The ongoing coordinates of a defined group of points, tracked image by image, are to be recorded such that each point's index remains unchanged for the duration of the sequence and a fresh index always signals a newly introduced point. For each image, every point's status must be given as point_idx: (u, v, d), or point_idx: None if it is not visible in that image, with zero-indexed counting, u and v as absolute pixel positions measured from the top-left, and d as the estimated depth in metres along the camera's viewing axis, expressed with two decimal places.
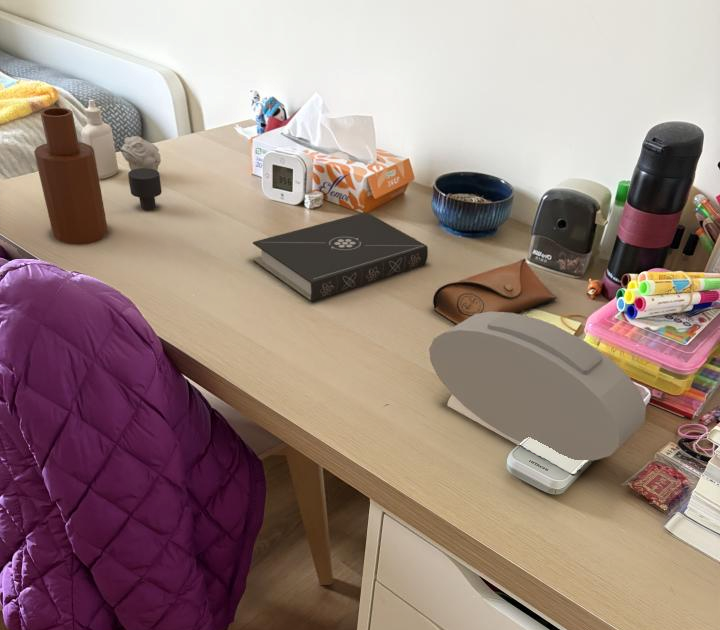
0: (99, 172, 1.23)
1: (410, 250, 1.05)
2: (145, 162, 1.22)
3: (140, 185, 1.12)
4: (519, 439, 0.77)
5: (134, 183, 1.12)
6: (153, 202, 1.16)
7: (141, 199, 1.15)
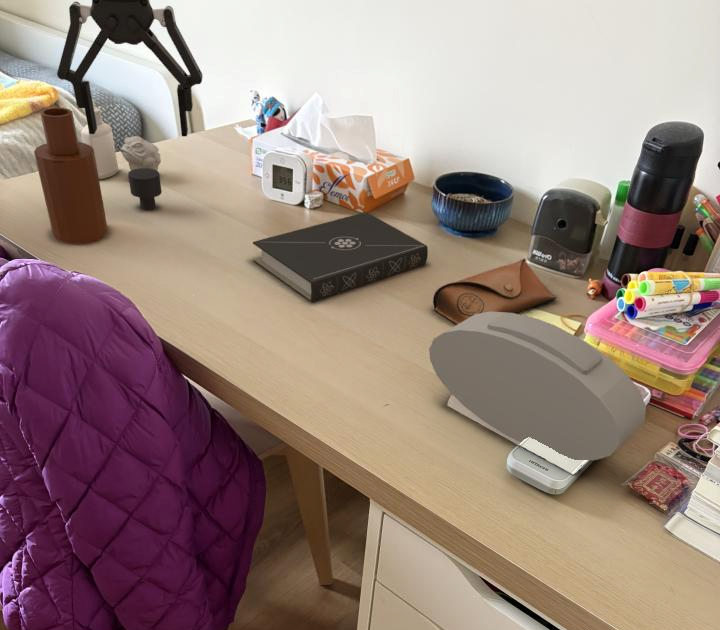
0: (99, 172, 1.23)
1: (410, 250, 1.05)
2: (145, 162, 1.22)
3: (140, 185, 1.12)
4: (519, 439, 0.77)
5: (134, 183, 1.12)
6: (153, 202, 1.16)
7: (141, 199, 1.15)
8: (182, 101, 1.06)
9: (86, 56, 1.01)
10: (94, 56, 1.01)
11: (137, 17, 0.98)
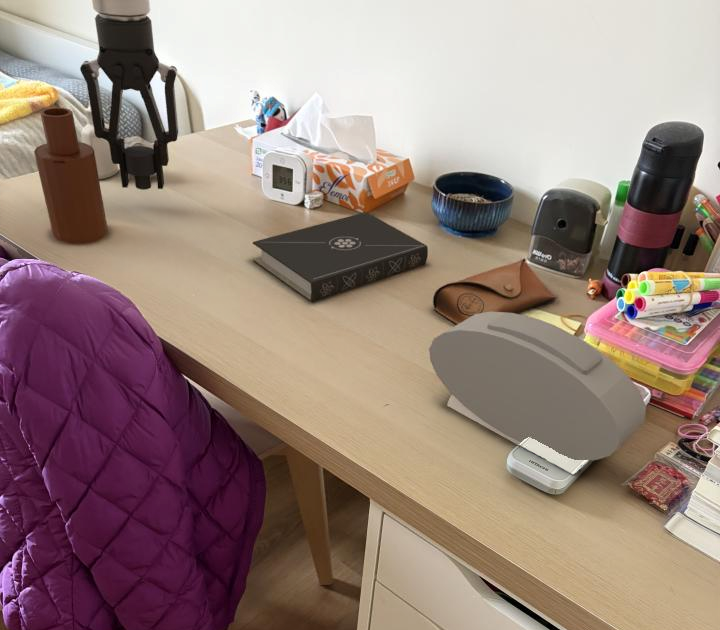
0: (99, 172, 1.23)
1: (410, 250, 1.05)
2: None
3: (136, 163, 1.10)
4: (519, 439, 0.77)
5: (130, 161, 1.10)
6: (148, 181, 1.14)
7: (136, 177, 1.13)
8: (158, 157, 1.11)
9: (111, 112, 1.06)
10: (117, 109, 1.06)
11: (142, 65, 1.02)
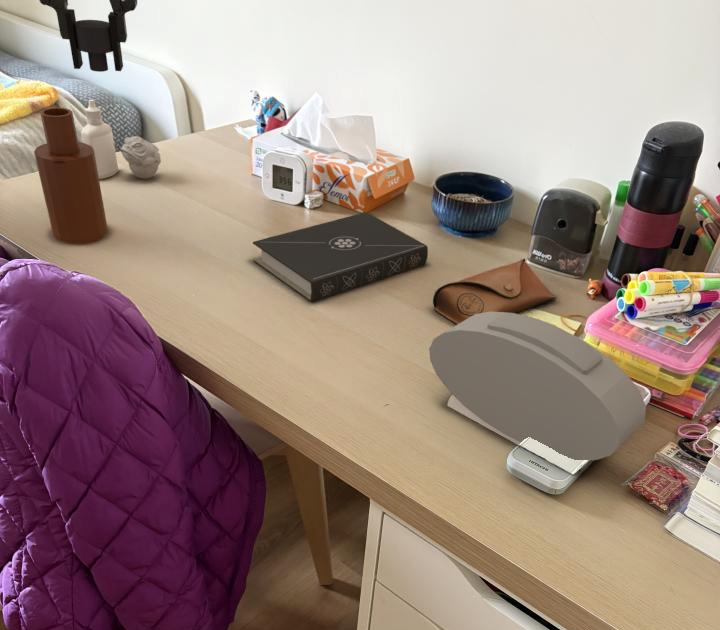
0: (99, 172, 1.23)
1: (410, 250, 1.05)
2: (145, 162, 1.22)
3: (88, 36, 0.95)
4: (519, 439, 0.77)
5: (81, 34, 0.95)
6: (105, 61, 0.99)
7: (90, 57, 0.98)
8: (114, 30, 0.96)
9: None
10: None
11: None
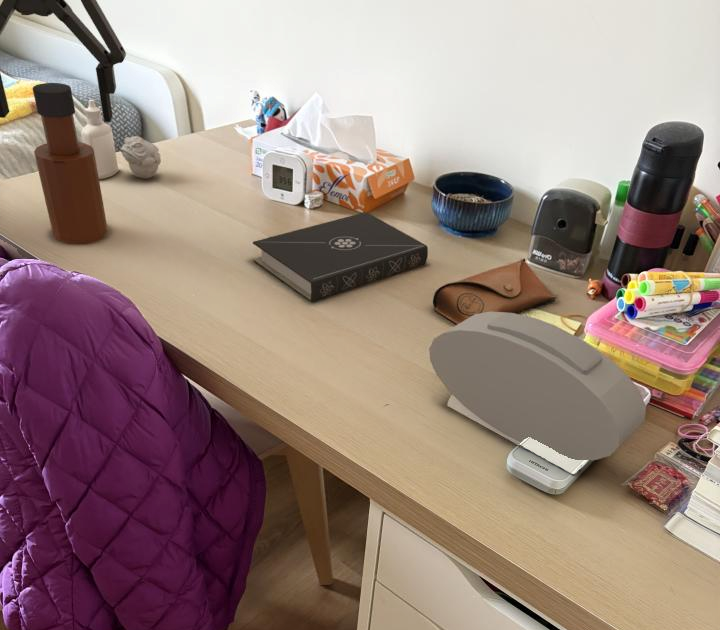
0: (99, 172, 1.23)
1: (410, 250, 1.05)
2: (145, 162, 1.22)
3: (47, 101, 0.94)
4: (519, 439, 0.77)
5: (40, 99, 0.94)
6: None
7: None
8: (102, 82, 0.94)
9: None
10: None
11: None
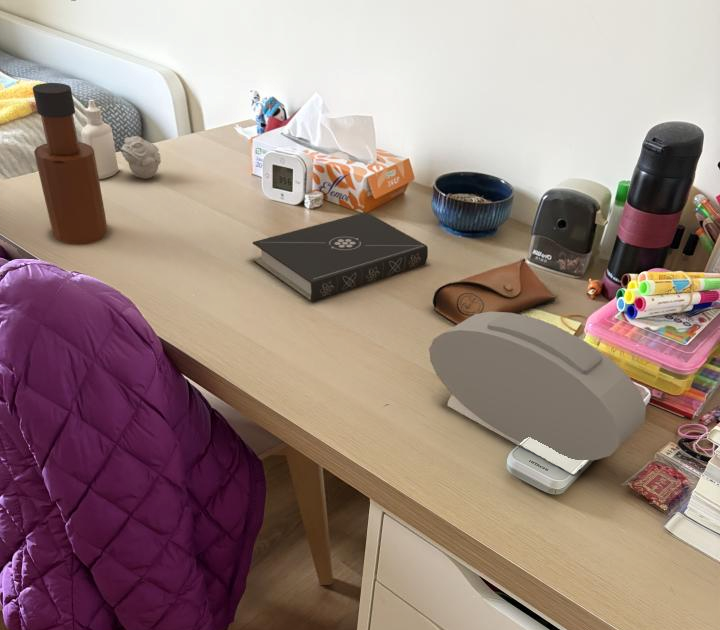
0: (99, 172, 1.23)
1: (410, 250, 1.05)
2: (145, 162, 1.22)
3: (47, 101, 0.94)
4: (519, 439, 0.77)
5: (40, 99, 0.94)
6: None
7: None
8: None
9: None
10: None
11: None
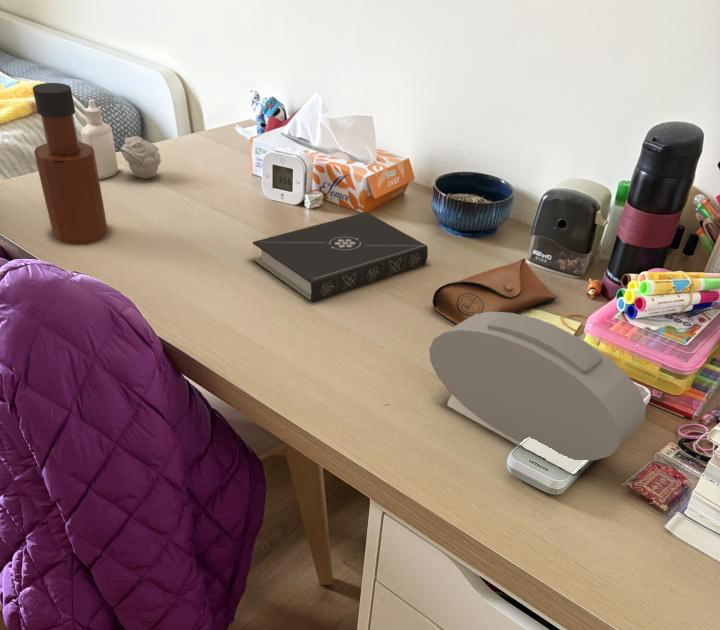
0: (99, 172, 1.23)
1: (410, 250, 1.05)
2: (145, 162, 1.22)
3: (47, 101, 0.94)
4: (519, 439, 0.77)
5: (40, 99, 0.94)
6: None
7: None
8: None
9: None
10: None
11: None
